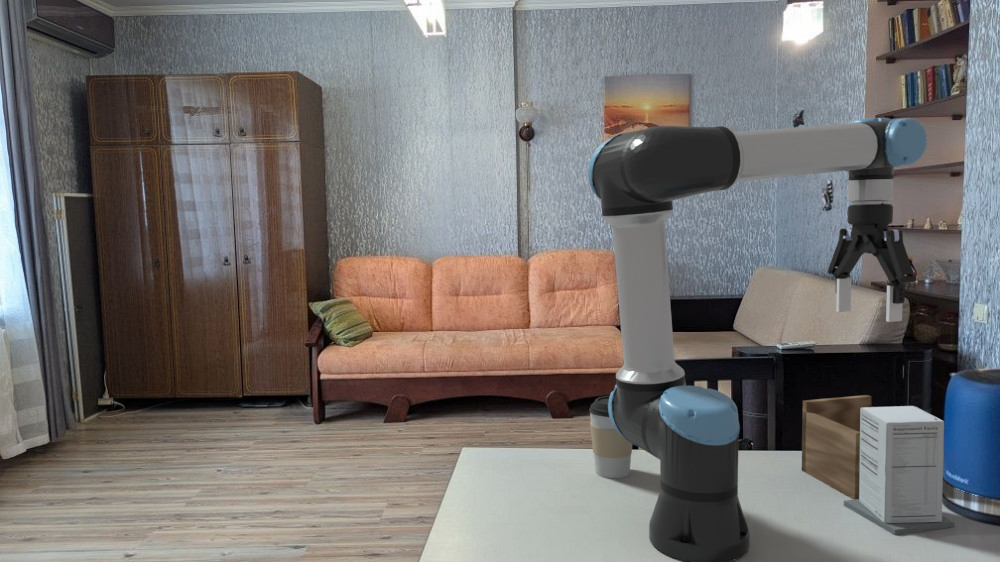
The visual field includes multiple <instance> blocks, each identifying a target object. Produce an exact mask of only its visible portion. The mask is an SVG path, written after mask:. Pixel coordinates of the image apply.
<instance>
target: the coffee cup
mask: <svg viewBox="0 0 1000 562" xmlns="http://www.w3.org/2000/svg"><path fill="white" fill-rule="evenodd" d="M609 397H610V395H606V396H605V395H603V396H599V397H597V398H595V399H594V402H592V403H591V404H590V408H589V409H588V412H589V414H590V423H589V425H590V434H591V443H592V452H593V456H594V457H593V458H594V466H595V467H594V469H595V470H594V471H595V474H596V475H598V476H599V477H602V478H606V479H623V478H626V477H628V476H629V475H630V473H631V458H632V452H633V444H631V443H630V442H629V441H627V440H626V439H624V437H623V436H622V435H621V434H619V432H618V431H617V430H616V429H615V428H614V426H613V424H612V422H611V420H610V417H609V412H608V402H609Z"/></svg>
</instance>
